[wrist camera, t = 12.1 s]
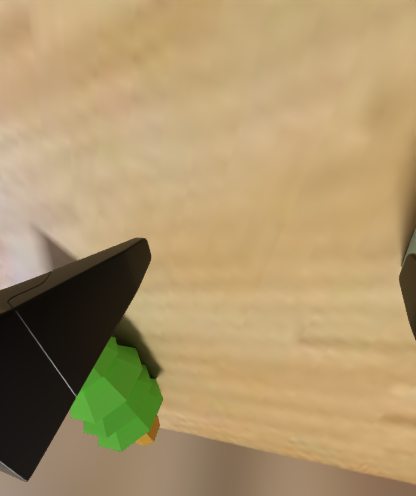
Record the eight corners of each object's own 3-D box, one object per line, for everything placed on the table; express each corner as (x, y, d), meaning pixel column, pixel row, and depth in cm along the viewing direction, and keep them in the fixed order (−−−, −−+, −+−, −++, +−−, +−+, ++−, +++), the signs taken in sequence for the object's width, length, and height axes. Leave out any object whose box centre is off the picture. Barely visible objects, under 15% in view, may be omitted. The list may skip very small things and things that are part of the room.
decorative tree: (109, 481, 38) (-55, 357, 24) (124, 404, 48) (16, 284, 34) (180, 461, 37) (54, 320, 23) (180, 386, 47) (93, 256, 33)
